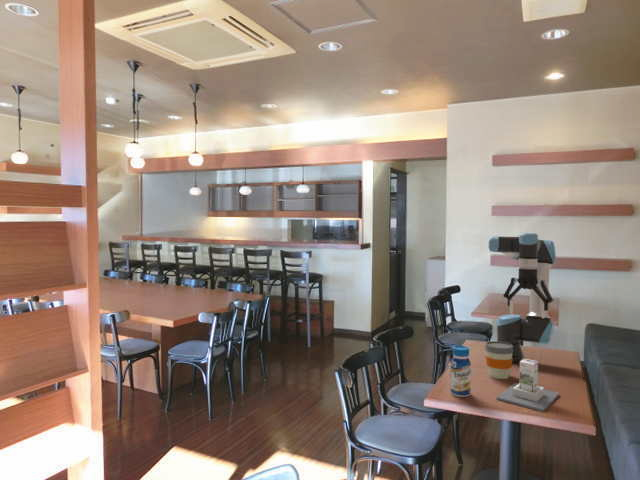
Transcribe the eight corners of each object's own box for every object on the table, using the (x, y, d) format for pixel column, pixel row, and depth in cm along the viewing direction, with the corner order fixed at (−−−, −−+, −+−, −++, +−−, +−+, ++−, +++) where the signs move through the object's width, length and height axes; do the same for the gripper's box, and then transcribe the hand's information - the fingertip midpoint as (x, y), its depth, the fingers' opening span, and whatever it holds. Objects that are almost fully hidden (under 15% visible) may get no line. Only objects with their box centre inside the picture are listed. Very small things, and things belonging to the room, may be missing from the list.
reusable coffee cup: (479, 375, 215) (480, 344, 214) (493, 369, 223) (493, 339, 222) (504, 382, 205) (505, 350, 204) (517, 376, 213) (518, 345, 212)
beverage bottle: (466, 389, 196) (467, 344, 195) (473, 397, 188) (474, 350, 187) (447, 389, 196) (448, 344, 195) (453, 397, 188) (453, 350, 187)
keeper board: (515, 384, 202) (515, 376, 202) (559, 395, 190) (559, 385, 190) (496, 399, 186) (496, 390, 185) (543, 411, 174) (543, 401, 173)
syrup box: (537, 394, 188) (538, 360, 187) (533, 398, 184) (533, 364, 183) (523, 391, 192) (524, 357, 191) (518, 395, 187) (519, 361, 187)
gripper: (496, 266, 204) (495, 313, 205) (556, 270, 187) (555, 321, 188) (502, 265, 209) (501, 310, 210) (561, 269, 193) (560, 318, 194)
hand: (527, 315), depth 199 cm, fingers open, 13 cm apart
